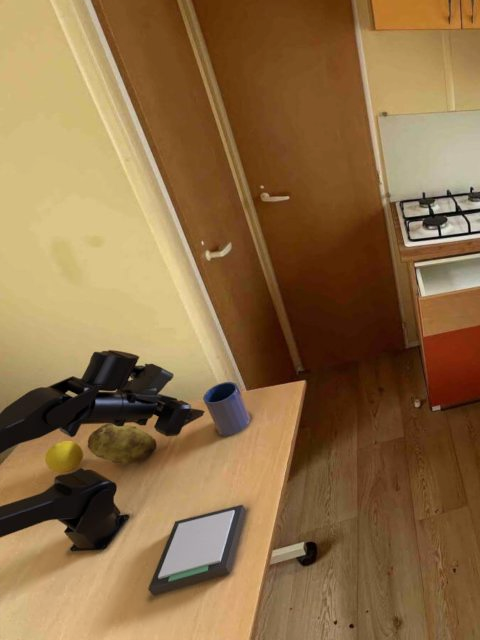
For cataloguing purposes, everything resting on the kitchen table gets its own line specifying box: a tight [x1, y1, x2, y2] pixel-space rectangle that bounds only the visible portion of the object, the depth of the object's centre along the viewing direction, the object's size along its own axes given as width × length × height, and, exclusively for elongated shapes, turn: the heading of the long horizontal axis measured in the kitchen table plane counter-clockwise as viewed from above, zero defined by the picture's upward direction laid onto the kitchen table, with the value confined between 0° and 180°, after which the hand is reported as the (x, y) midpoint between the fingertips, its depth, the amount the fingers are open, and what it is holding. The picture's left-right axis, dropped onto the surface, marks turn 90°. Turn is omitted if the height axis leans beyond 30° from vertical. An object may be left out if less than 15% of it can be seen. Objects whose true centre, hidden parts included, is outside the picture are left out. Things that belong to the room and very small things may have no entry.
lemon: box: [44, 440, 84, 473], centre depth 94 cm, size 6×6×8 cm
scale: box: [147, 504, 247, 597], centre depth 80 cm, size 12×12×3 cm
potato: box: [87, 423, 157, 465], centre depth 97 cm, size 8×13×8 cm, turn 67°
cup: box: [202, 381, 251, 437], centre depth 104 cm, size 7×7×11 cm
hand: (189, 407), depth 95 cm, fingers open, 9 cm apart
